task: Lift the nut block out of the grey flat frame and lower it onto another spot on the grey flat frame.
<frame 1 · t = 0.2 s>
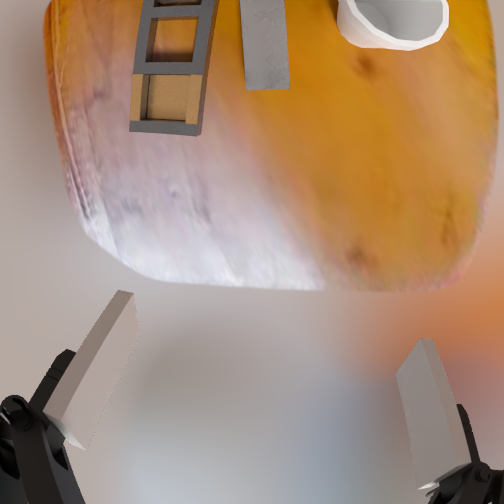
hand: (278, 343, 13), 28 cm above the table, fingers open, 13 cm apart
grey flat frame: (176, 41, 29), on the table
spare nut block: (267, 46, 29), on the table
foam cup: (362, 25, 26), on the table
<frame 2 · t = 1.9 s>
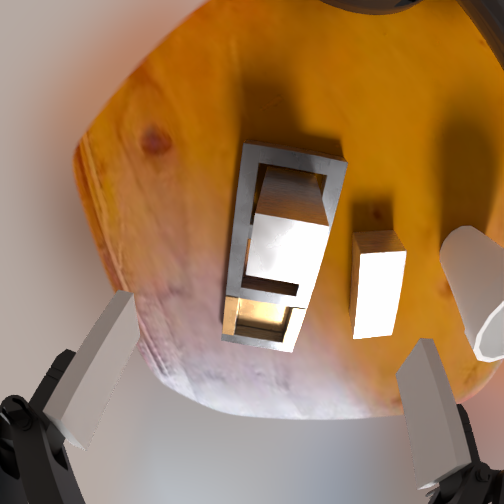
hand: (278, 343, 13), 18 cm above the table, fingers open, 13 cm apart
grey flat frame: (274, 258, 32), on the table
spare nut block: (370, 273, 32), on the table
nut block: (287, 192, 28), resting in grey flat frame
foam cup: (460, 248, 29), on the table
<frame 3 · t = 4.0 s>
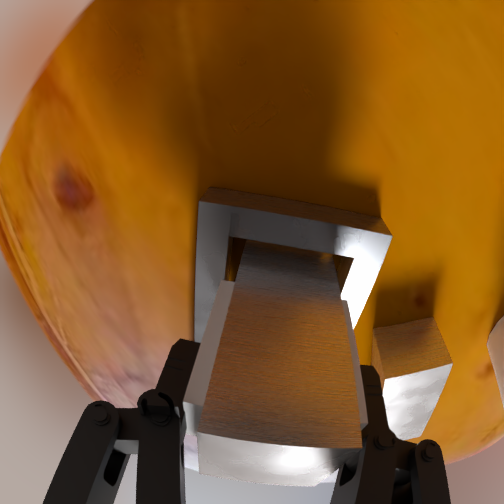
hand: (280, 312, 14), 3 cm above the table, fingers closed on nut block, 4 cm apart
grey flat frame: (262, 357, 21), on the table
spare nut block: (396, 368, 21), on the table
nut block: (282, 274, 17), resting in grey flat frame, touching gripper
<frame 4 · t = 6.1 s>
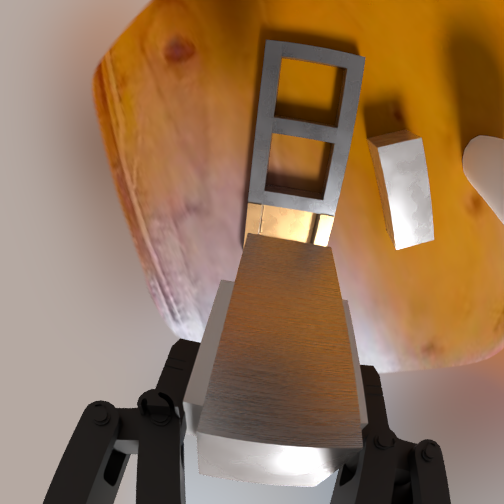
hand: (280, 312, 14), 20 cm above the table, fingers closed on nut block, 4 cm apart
grey flat frame: (298, 161, 30), on the table
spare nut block: (396, 181, 29), on the table
nut block: (282, 274, 17), point 17 cm above the table, touching gripper
foam cup: (481, 160, 26), on the table
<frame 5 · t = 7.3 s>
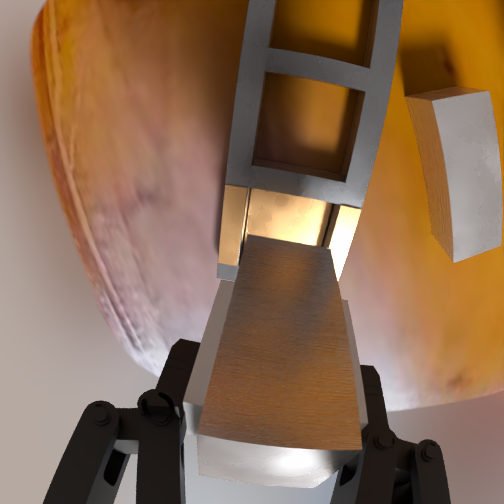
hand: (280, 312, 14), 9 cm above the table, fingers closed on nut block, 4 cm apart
grey flat frame: (306, 123, 18), on the table
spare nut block: (446, 162, 18), on the table
nut block: (282, 275, 17), point 6 cm above the table, touching gripper
when the fingers open (4 cm above the table, at t = 8.5 s): nut block drops 1 cm, resting on grey flat frame.
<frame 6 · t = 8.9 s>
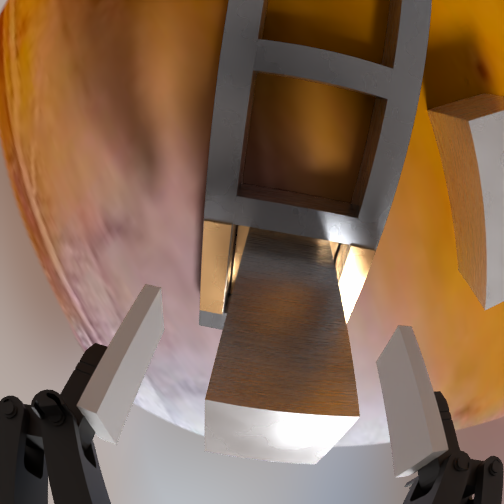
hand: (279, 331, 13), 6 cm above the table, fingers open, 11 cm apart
grey flat frame: (308, 138, 14), on the table
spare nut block: (475, 186, 14), on the table
nut block: (282, 264, 18), resting on grey flat frame
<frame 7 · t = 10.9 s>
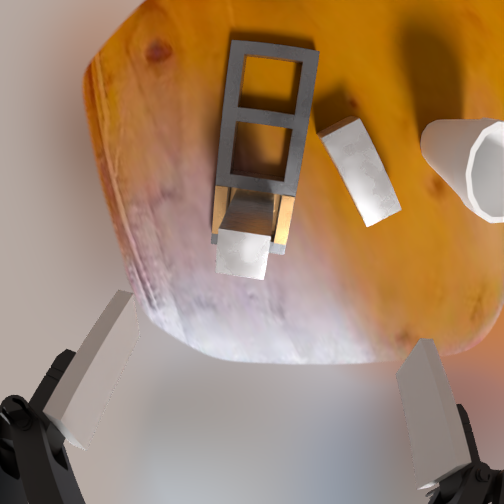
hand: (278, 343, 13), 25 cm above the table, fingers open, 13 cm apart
grey flat frame: (261, 148, 33), on the table
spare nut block: (355, 165, 33), on the table
nut block: (253, 209, 36), resting on grey flat frame
foam cup: (440, 144, 30), on the table
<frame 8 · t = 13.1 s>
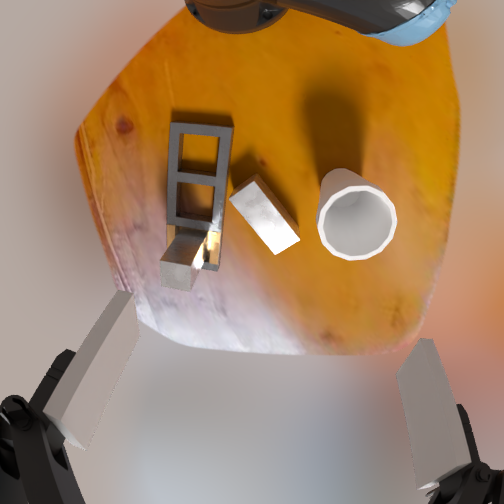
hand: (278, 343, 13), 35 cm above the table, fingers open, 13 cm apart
grey flat frame: (198, 197, 47), on the table
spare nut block: (267, 207, 47), on the table
nut block: (195, 239, 51), resting on grey flat frame
foam cup: (340, 187, 44), on the table
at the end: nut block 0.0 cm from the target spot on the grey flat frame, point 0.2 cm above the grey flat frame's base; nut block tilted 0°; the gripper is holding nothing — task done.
